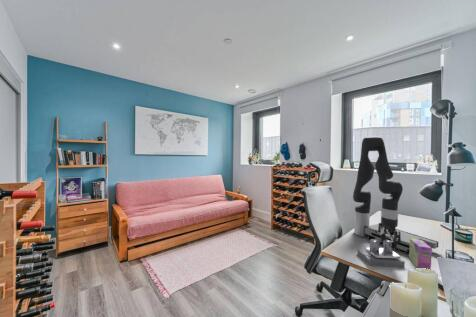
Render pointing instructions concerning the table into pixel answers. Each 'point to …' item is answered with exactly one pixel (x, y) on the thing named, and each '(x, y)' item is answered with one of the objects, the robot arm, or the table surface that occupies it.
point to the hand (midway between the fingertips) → (388, 245)
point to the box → (420, 253)
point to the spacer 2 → (387, 246)
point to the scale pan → (383, 254)
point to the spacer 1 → (374, 246)
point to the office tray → (405, 238)
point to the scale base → (379, 260)
